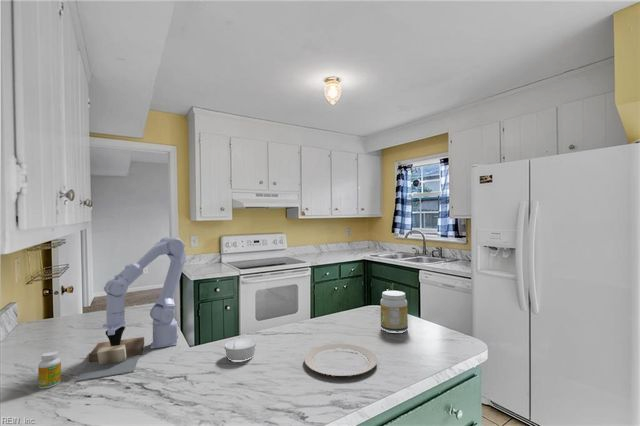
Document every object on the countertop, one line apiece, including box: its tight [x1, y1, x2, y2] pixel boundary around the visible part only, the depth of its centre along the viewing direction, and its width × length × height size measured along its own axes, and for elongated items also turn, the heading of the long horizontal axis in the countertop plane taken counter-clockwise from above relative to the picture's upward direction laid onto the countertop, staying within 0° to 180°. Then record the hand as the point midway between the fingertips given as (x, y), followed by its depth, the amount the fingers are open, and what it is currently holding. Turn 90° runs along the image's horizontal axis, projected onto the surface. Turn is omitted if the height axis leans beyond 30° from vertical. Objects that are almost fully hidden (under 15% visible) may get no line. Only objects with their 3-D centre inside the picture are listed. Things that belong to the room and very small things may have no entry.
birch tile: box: [97, 345, 126, 365], centre depth 112 cm, size 8×6×2 cm
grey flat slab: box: [75, 354, 141, 383], centre depth 109 cm, size 16×14×1 cm
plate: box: [304, 343, 378, 377], centre depth 111 cm, size 26×26×2 cm
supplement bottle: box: [37, 350, 62, 389], centre depth 99 cm, size 5×5×10 cm
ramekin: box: [224, 337, 257, 360], centre depth 117 cm, size 11×11×5 cm
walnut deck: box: [88, 336, 145, 363], centre depth 122 cm, size 16×12×3 cm
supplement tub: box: [379, 290, 409, 332], centre depth 144 cm, size 12×12×17 cm
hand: (115, 348), depth 117 cm, fingers closed
